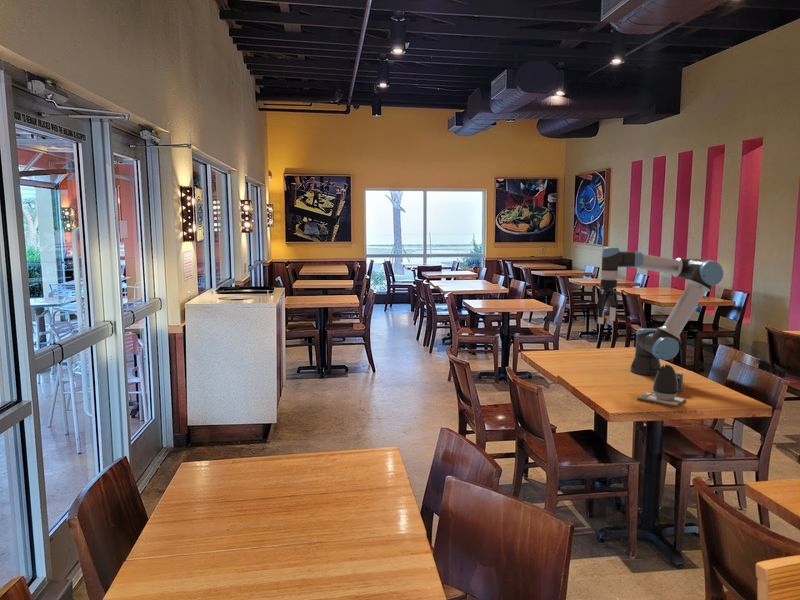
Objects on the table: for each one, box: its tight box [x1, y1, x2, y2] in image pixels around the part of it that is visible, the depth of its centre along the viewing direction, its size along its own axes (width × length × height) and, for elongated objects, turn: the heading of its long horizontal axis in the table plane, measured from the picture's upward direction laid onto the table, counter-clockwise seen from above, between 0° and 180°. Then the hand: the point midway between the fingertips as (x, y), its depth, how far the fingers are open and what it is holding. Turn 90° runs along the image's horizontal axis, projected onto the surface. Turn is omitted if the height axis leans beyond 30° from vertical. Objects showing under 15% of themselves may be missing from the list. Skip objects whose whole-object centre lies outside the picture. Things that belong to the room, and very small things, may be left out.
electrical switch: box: [675, 372, 684, 392], centre depth 280 cm, size 9×5×9 cm, turn 57°
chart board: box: [636, 391, 687, 409], centre depth 265 cm, size 14×16×1 cm
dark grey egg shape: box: [652, 364, 679, 400], centre depth 263 cm, size 10×10×15 cm
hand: (606, 322), depth 296 cm, fingers open, 13 cm apart
